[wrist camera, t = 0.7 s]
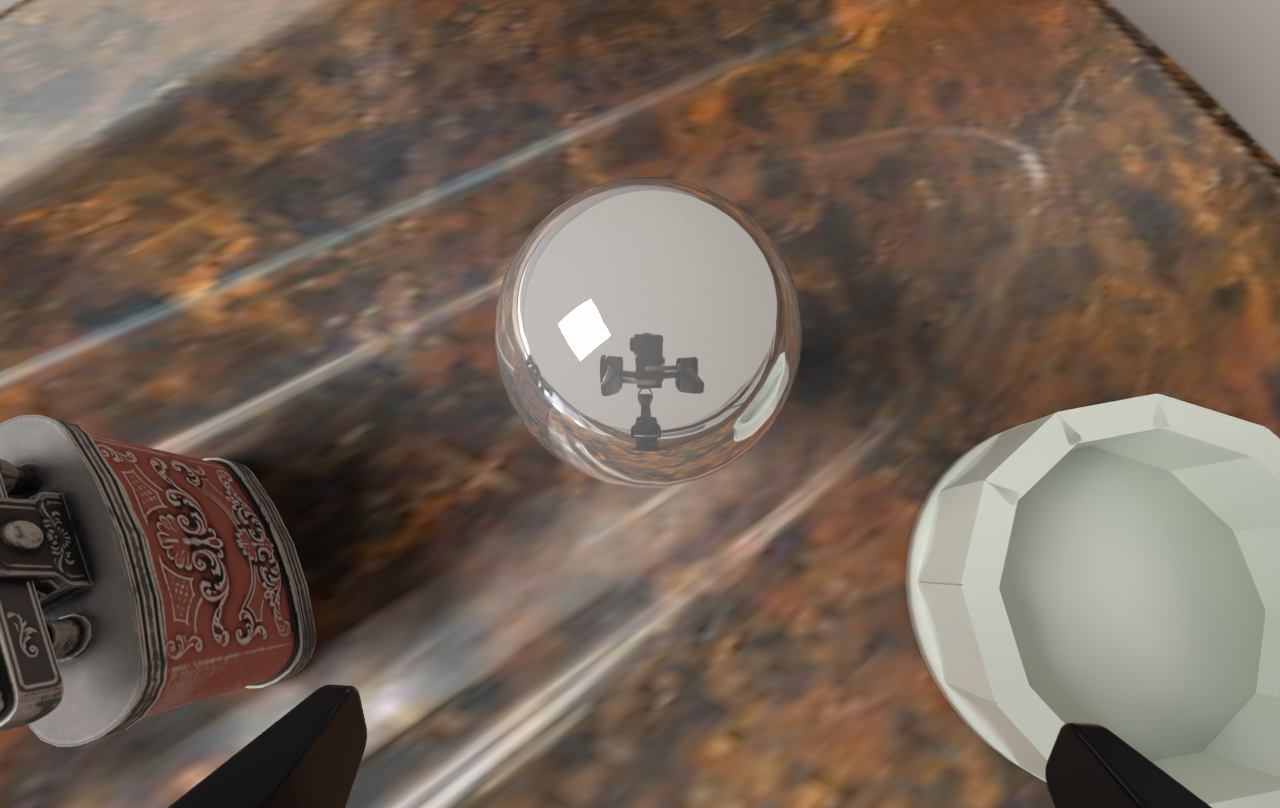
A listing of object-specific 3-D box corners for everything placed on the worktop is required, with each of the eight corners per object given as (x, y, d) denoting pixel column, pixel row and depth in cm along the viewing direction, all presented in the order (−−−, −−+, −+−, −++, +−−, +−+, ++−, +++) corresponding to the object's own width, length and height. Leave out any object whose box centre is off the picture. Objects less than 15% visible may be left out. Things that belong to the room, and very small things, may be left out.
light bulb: (634, 291, 24) (615, 38, 12) (785, 401, 23) (920, 235, 11) (514, 434, 23) (369, 300, 11) (667, 557, 22) (682, 550, 10)
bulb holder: (1109, 884, 19) (1225, 967, 15) (831, 574, 21) (870, 577, 18) (1347, 618, 21) (1507, 630, 17) (1065, 356, 23) (1148, 315, 19)
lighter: (164, 489, 23) (-202, 434, 13) (253, 444, 23) (-40, 357, 13) (242, 704, 21) (-116, 827, 11) (337, 651, 21) (70, 725, 12)
